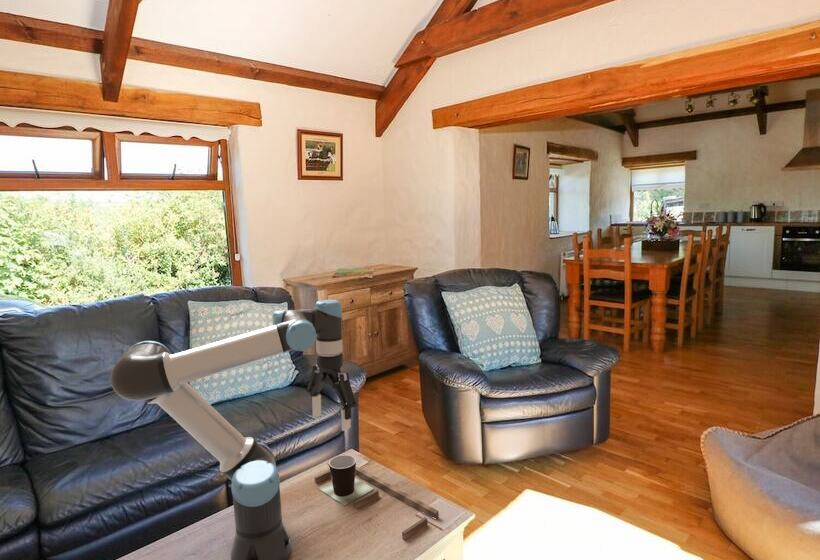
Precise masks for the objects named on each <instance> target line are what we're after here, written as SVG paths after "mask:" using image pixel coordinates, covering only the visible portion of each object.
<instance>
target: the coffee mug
mask: <svg viewBox="0 0 820 560" xmlns="http://www.w3.org/2000/svg"><path fill="white" fill-rule="evenodd" d="M356 466H357V459H356V457H355V456H352V455H350V454H340V455H337V456H334V457H332V458H331V459H329V461H328V467H329V470H330V473H331V477H330V478H331V481H332V484H333V489H334V493H335V495H337V496H341V497H343V496H348V495H350V494H352V493H353V492H354V484H355V478H356V475H355V469H356Z"/></svg>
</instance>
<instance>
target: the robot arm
mask: <svg viewBox="0 0 820 560" xmlns="http://www.w3.org/2000/svg"><path fill="white" fill-rule="evenodd" d="M343 317H344V316H343V309H342V303H341V302H340V301H339V300H336V299H322V300H318V301H316V303H315V306H314V307H313V308H303V309H301V308H300V309H299V308H298V309H283V310H275V311H274V312H273V314H272V325H270V326H265V327H263V328H259V329H255V330H252V331H249V332H246V333H245V332H244V333H240V334H239V335H235V336H231V337H228V338H225V339H220V340H217V341H215V342H210V343H207V344H203V345H201V346H197V347H193V348H191V349H187V350H183V351H179V352H176V353H173V354H172V353H171V351H170V350H169V348H168V347H167V346H165V344H163V343H161V342H158V341H155V340H143V341H139V342H137V343H135V344H133V345H132V346H131V347H129V348H127V350H125V351H124V352H123V353H122V355H121V357H120V359H118V361H116V363H115V364H114V366H113V368H112V370H111V372H110V379H109V380H110V385H111V388H112V389H113V392H114V393H116V395H117V396H118V397H120V398H122V399H123V400H126V401H130V402H143V401H144V403H146V404H148V405H149V404H150V405H152V404H156V405H158V406H159V407H160V408H161V409H162V410H163V411H165V412H166V413H167V414H168V415H169V417H171V418H172V419H173V420H174V421H176V423H177V424H178V425H180V427H182V428H183V429H184V430H185V431H186V432H187V433H188V434H189V435H191V437H192V438H194V439H195V440H196V441H197V442H198V443H199V444H200V445H201V446H202V447H203V448H204V449H205V450H207V452H208V453H210V454H211V455H212V456H213V458H215V459H216V460H217V461H218V462H219V471H220V472H221V473H223V474H224V475H225V476H226V477H227V478H228V480H230V481H231V485H230V487H231V488H230V489H231V494H232V501H233V502H232V503H233V513H234V514H233V515H234V524H235V526H234V527H235V535H234V538H233V543H232V546H231V551H230V560H287V559H288V558H289V556H290V554H291V552H292V543H291V538H290V535H289V533H288V531H287V528H286V527H285V525H284V522H283V514H282V502H281V501H282V500H281V489H280V486H281V485H280V483H281V478H280V474H279V470H278V467H277V462H276V457H275V455H274V453H273V452H272V450H271V448H270V447H269V446H268V445H266V444H265V443H262V442H258V441H257V440H255V438H253V437H252V436H246V437H244V436H243V435H242V433H240V432H239V431H238V430H237V429H236V428H235V427H234V426H233V425H232V424H231V423H230V422H229V421H228V420H227V419H226V418H225V417H223V416H222V414H220V412H219V411H217V410H216V409H215V408H214V406H212V405H211V403H210V402H208V401H207V400H206V399H205V398H204V397H203V396H202V395H201V394H199V392H198V391H197V390H196V389H195V388H194V387H192V386H191V385H190V384H189V383H191V382H195V381H197V380H200V379H204V378H206V377H211V376H214V375H217V374H219V373H222V372H223V373H224V372H226V371H229V370H233V369H236V368H240V367H242V366H246V365H249V364H251V363H255V362H258V361H261V360H265V359H268V358H272V357H274V356H278V355H281V354H284V353H287V352H288V353H289V352H291V351H296V352H305V351H308V350H309V349H311V348H312V347H313V346H314V345H315V342H316V349H315V351H316V364H314V365H313V366H312V370H311V375H310V377H309V380H308V383H307V387H306V393H309V395H310V396H311V405H312V418H313V419H315V418H318V417H321V416H322V395H321V391H322V389H323V388H324V386H325V385H328V386H331V388H332V389H333V390H334V391H335V393H336V395H337V397H338V399H339V401H340V404H341V405H342V406H341V409H340V411H341V412H340V415H341V422H340V423H341V431H343V432H344V431H346V430H347V431H348V430H349V429H351V419H352V409H353V408H355V407H357V406H358V405H357V401H356V398H355V395H354V392H353V387H352V385H351V383H350V375H349V373H348V372H344V373H343V372H342V371H341V368H342V366H343V364H344V361H343V359H344V355H343Z"/></svg>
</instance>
